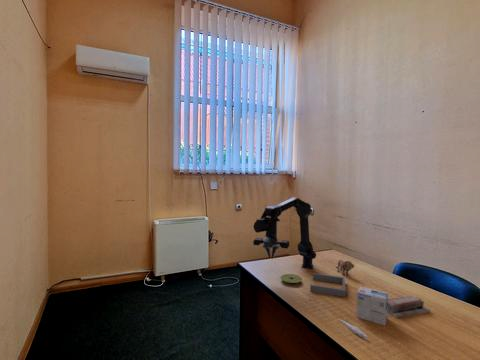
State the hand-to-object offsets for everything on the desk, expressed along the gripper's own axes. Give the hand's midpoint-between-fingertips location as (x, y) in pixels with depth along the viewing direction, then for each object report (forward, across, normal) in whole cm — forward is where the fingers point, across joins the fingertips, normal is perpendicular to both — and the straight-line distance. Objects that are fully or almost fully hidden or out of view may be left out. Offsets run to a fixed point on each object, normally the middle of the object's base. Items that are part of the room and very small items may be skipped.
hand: (271, 258), depth 146 cm
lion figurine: (+11, +38, +22) cm, 45 cm away
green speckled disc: (+11, +11, 0) cm, 16 cm away
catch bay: (+11, +29, 0) cm, 31 cm away
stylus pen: (+12, +39, -34) cm, 53 cm away
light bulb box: (+11, +47, -23) cm, 54 cm away
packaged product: (+12, +61, -11) cm, 63 cm away
